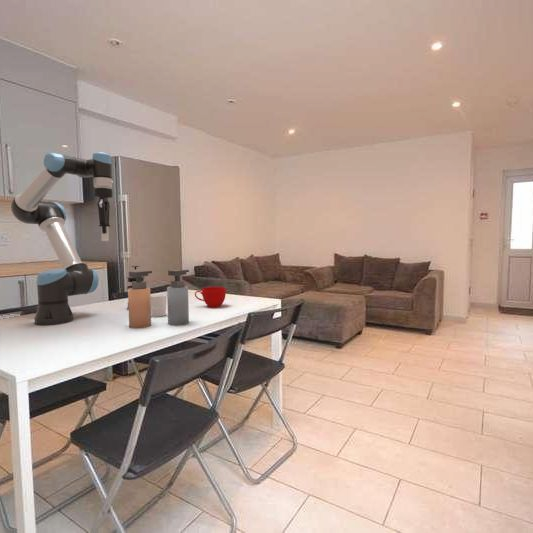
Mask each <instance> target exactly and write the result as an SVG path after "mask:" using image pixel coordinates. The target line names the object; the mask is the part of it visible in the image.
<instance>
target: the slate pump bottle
mask: <svg viewBox="0 0 533 533" xmlns="http://www.w3.org/2000/svg"><path fill="white" fill-rule="evenodd" d="M185 283H186V282H185V279H180V281H175V279H172V280H170V286H167V287H166V293H167V294H166V305H167V324H168V325H170V326H185V325H188V324H189V323H190V321H189V320H190V318H189V314H190V313H189V312H190V311H189V309H190V308H189V286H187V285H186V284H185Z"/></svg>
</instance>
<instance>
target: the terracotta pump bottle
mask: <svg viewBox="0 0 533 533" xmlns="http://www.w3.org/2000/svg"><path fill="white" fill-rule="evenodd" d="M131 286H132V288H129V289H127V298H128V299H127V307H128V306H129V310H128V326H129V328H131V329H143V328H147V327H150V326H152V316H151V298H150V295H151V287H149V286H147V281H145V280H144V281H142V282H136V281H135V282H131Z"/></svg>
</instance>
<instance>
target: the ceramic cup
mask: <svg viewBox="0 0 533 533" xmlns="http://www.w3.org/2000/svg"><path fill="white" fill-rule="evenodd" d="M226 292H227V288H226V287H222V286H221V287H220V286H208V287H202V289H201V290H196V291H195V293H194V296H195V298H196V299H197V300H199V301H202V302H204V303H205V305H206V306H207V307H208V308H220V307H221V306H222V304H223V303H224V301H225V299H226V294H227V293H226ZM197 293H200V294H201V295H202V298H199V297H198V296H197Z"/></svg>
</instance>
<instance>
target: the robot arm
mask: <svg viewBox="0 0 533 533" xmlns="http://www.w3.org/2000/svg"><path fill="white" fill-rule="evenodd" d="M43 166H44V167H43V168H42V170H41V171H40V172H39V173H38V174H37V175H36V176H35V178H33V179H32V180H31V182H30V183H29V184H28V186H26V188H25V189H24V190H23V191H22V192H21V193H18V194H16V195H15V196H14V197H13V199H12V201H11V203H10V209H11V212H12V214H13V216H14V218H15V219H16V220H18V221H19V222H22V223H24V224H32V225H38V227H39V229H40V231H42V232H45V234H46V236H47V239H48V240H49V242H50V244H51V246H52V248H53V250H54V253H55V255H56V256H57V258H58V261H59V263H60V264H61V266H62V268H55V269H47V270H43V271H41V272H39V273H38V274H37V276H36V287H37V290H36V291H37V303H38V305H37V308H36V312H35V315H34V325H38V326H49V325H60V324H65V323H68V322H69V323H70V322H71V321H74V314H73V311H72V310H71V307H70V304H69V297H72V296H79V295H88V294H90V293H93V292H95V291H96V290H97V288H98V286H99V280H100V278H99V275H98V272H97V271H96V270H95V269H93V268H89V267H88V264H87V263H85V262H82V259H81V258H80V256H79V254H78V252H77V250H76V248H75V246H74V244H73V242H72V240H71V238H70V237H69V236H70V235H69V234H68V232H67V230H66V228H65V223H66V220H67V215H66V214H67V213H66V210H65V208H64V206H63V205H62V204H60V203H59V202H56V201H44V200H43V199H44V198H45V197H46V195H47V194H49V192H50V191H51V190H52V189H53V188H54V187H55V186H56V185H57V184H58V183H59V181H60V180H61V179H62V178H63V177H64V176H65V175H66V174H67V175H74V176H77V177H79V178H81V179H83V178H86V179H87V178H92V177H93V187H94V189H93V195H94V197H95V198H98V201H97V203H96V204H97V207H98V208H97V209H98V210H97V211H98V217H99V218H98V219H99V225H98V226H99V227H100V228H101V230H100V232H101V236H100V237H101V242H109V236H110V235H109V227H111V224H110V207H111V206H110V201H109V199H111V198H113V189H112V188H113V184H114V181H113V173H112V172H113V170H112V169H113V168H112V167H113V163H112V156H111V154H109V153H107V152H101V151H97V152H96V151H95V152H93V154H92V158H91V159H84V158H79V157H75V156H71V155H70V156H69V155H65V154H60V153H58V152H57V153H55V152H47V153H46V154H45V155H44V158H43Z"/></svg>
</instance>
